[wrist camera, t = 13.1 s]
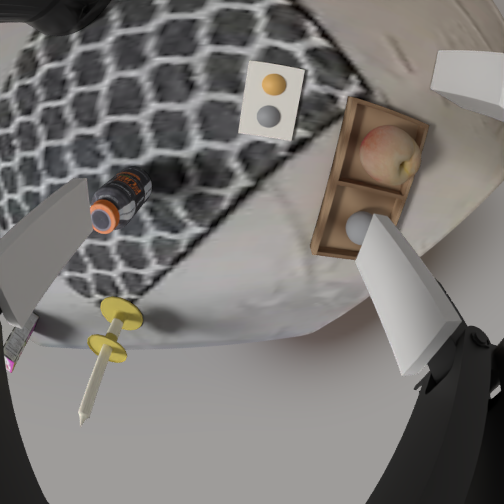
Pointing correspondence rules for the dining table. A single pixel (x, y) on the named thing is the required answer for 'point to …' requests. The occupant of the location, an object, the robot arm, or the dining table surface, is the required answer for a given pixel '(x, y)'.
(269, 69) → the tile
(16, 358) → the candy bar box
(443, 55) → the milk carton
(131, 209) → the pill bottle
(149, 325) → the dining table surface
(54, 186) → the dining table surface
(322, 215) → the divided wooden tray
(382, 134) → the fruit
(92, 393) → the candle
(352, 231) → the grey ball
